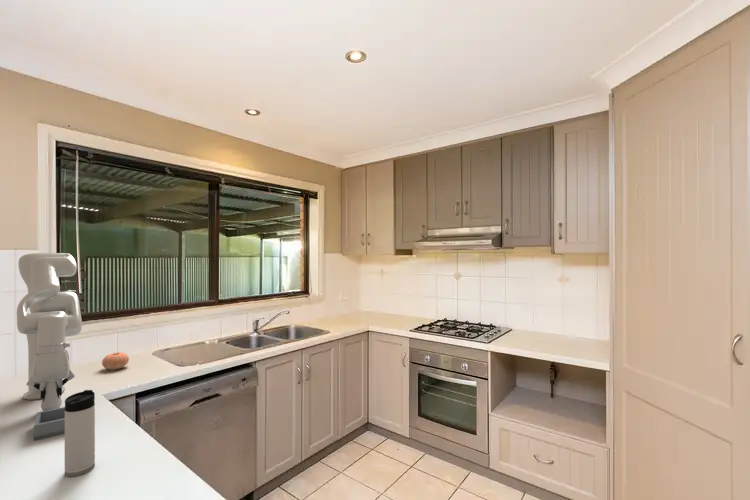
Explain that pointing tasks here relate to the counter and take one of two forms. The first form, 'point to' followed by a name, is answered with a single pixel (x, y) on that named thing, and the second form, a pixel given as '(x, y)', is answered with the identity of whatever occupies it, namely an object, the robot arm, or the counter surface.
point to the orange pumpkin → (115, 361)
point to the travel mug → (79, 433)
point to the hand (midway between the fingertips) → (51, 398)
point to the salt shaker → (51, 396)
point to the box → (49, 423)
